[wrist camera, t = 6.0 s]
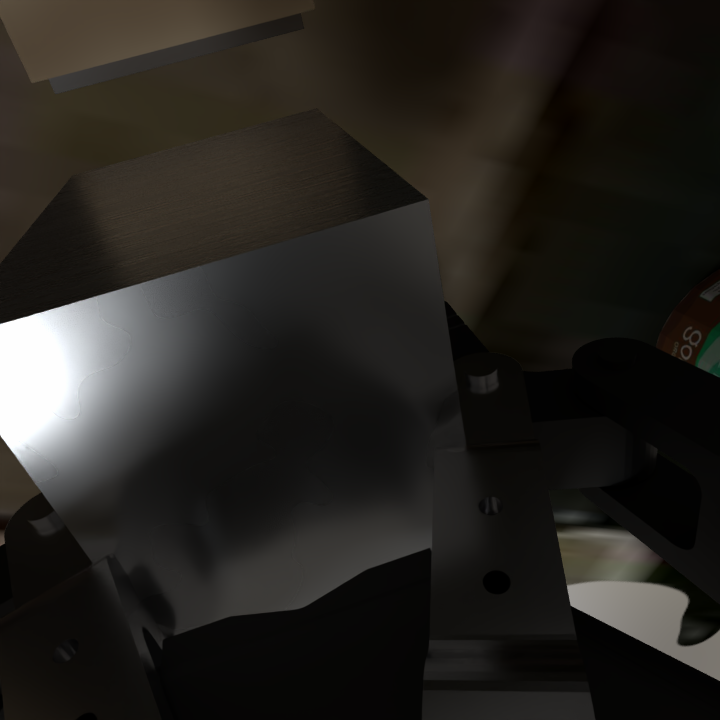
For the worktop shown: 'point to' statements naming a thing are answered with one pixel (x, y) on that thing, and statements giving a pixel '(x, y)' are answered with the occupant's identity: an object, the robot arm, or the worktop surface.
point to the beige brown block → (134, 33)
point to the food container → (696, 327)
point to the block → (233, 367)
